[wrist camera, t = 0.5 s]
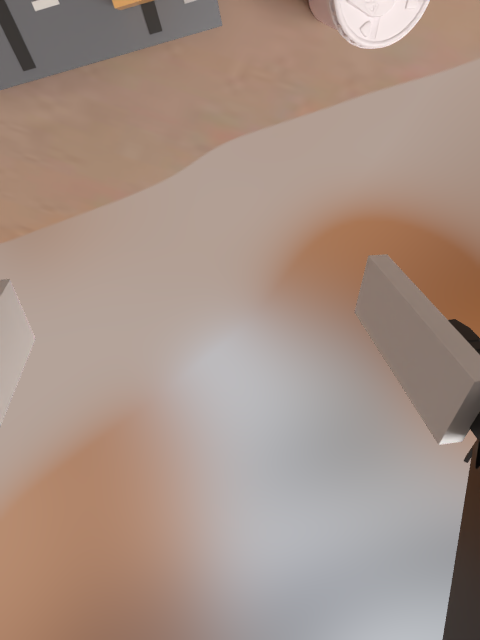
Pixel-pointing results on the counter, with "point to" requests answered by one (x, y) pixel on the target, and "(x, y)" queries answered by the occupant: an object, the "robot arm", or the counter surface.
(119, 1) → the orange fader
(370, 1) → the smoothie
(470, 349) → the robot arm
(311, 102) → the counter surface
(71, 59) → the fader board
